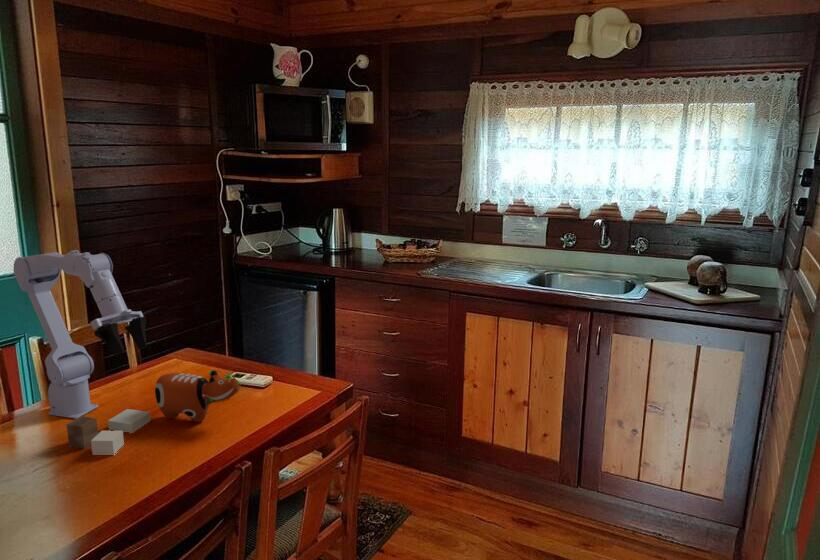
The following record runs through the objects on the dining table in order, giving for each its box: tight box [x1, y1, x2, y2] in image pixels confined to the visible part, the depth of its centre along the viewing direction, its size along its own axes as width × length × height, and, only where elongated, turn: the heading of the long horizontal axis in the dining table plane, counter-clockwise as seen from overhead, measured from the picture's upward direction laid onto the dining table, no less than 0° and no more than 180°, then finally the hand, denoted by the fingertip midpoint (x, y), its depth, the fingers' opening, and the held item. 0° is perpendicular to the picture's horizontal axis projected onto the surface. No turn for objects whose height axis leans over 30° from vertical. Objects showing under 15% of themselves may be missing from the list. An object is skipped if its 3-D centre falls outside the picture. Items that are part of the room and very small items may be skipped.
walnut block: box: [65, 415, 99, 450], centre depth 141 cm, size 4×4×6 cm
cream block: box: [91, 430, 125, 456], centre depth 138 cm, size 5×5×4 cm
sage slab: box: [107, 408, 152, 434], centre depth 151 cm, size 7×7×3 cm
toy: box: [154, 369, 240, 423], centre depth 152 cm, size 10×23×15 cm, turn 78°
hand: (132, 350), depth 141 cm, fingers open, 7 cm apart
